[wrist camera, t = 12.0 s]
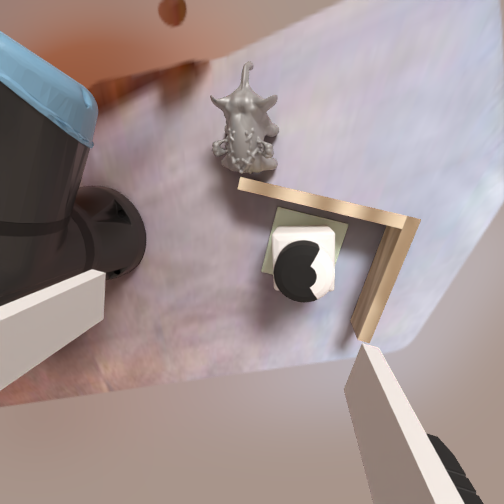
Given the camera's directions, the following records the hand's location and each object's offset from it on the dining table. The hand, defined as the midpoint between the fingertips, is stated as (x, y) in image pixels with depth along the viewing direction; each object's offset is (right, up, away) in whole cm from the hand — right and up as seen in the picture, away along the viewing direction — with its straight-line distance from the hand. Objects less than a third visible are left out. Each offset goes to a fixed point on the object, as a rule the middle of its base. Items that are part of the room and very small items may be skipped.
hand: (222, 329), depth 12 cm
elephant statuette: (+1, +20, +21) cm, 30 cm away
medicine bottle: (+9, +4, +23) cm, 25 cm away
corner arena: (+9, +3, +24) cm, 25 cm away
